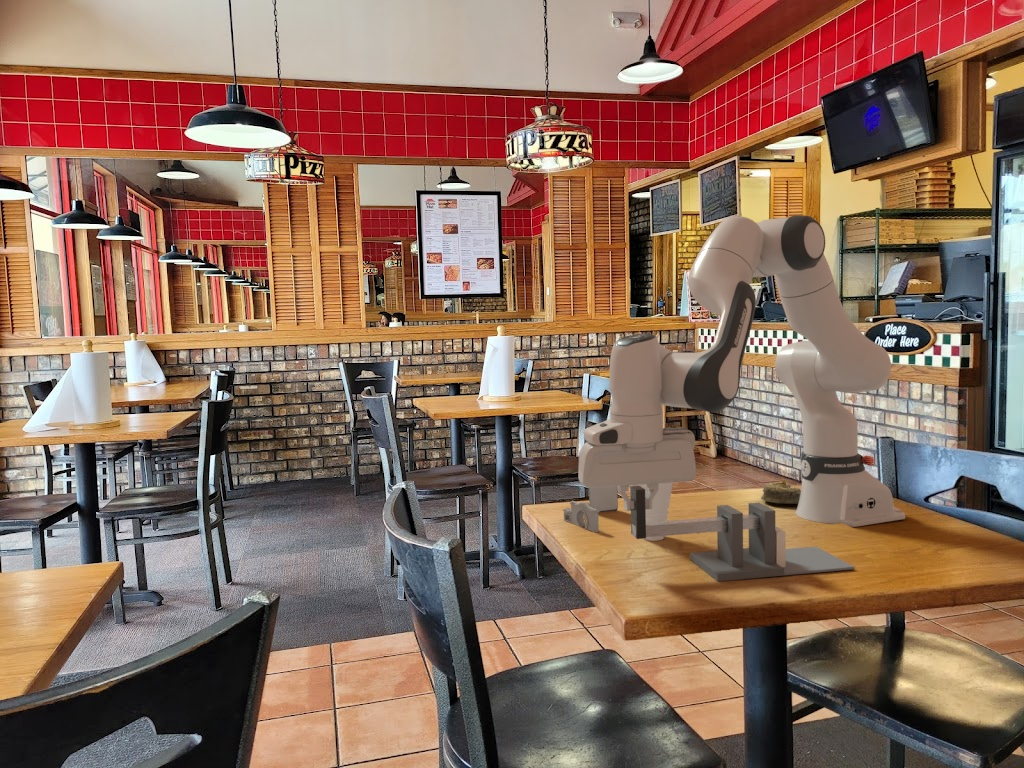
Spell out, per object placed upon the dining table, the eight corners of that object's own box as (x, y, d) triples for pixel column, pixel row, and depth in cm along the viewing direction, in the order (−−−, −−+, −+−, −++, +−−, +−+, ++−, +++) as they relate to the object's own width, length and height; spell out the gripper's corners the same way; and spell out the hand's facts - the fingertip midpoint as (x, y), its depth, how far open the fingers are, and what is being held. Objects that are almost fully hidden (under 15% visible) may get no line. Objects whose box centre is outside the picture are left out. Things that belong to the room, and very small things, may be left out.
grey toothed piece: (562, 522, 167) (562, 495, 166) (569, 520, 167) (568, 494, 167) (594, 534, 156) (593, 506, 156) (601, 533, 157) (600, 505, 156)
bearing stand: (751, 554, 140) (751, 498, 139) (784, 575, 128) (784, 515, 127) (690, 559, 138) (689, 503, 137) (717, 581, 126) (717, 520, 125)
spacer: (767, 555, 137) (767, 521, 137) (785, 566, 131) (785, 531, 130) (759, 556, 137) (759, 522, 136) (776, 567, 131) (776, 531, 130)
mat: (816, 548, 142) (816, 546, 142) (854, 569, 130) (854, 566, 130) (751, 554, 140) (751, 551, 140) (784, 575, 128) (784, 573, 128)
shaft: (754, 524, 135) (754, 477, 134) (763, 528, 131) (763, 481, 131) (631, 533, 131) (630, 486, 130) (637, 539, 128) (636, 490, 127)
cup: (626, 529, 159) (624, 445, 157) (677, 530, 157) (676, 445, 155) (625, 544, 148) (623, 454, 147) (680, 545, 146) (679, 454, 145)
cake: (774, 508, 173) (774, 485, 172) (752, 498, 182) (752, 476, 182) (813, 504, 175) (813, 481, 174) (789, 494, 184) (789, 473, 184)
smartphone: (590, 513, 172) (588, 449, 171) (589, 513, 173) (587, 448, 172) (618, 510, 174) (616, 446, 173) (617, 510, 175) (615, 446, 173)
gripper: (687, 424, 133) (688, 501, 134) (574, 430, 130) (576, 508, 131) (701, 429, 126) (702, 509, 128) (583, 435, 123) (585, 518, 125)
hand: (638, 509), depth 129 cm, fingers closed on shaft, 2 cm apart
